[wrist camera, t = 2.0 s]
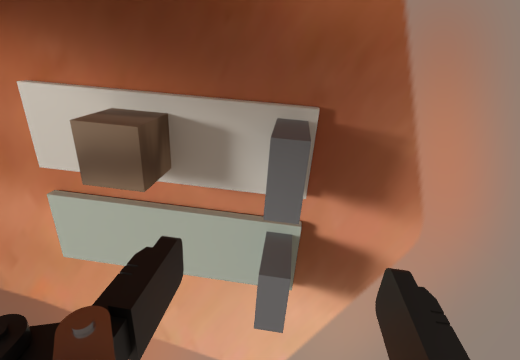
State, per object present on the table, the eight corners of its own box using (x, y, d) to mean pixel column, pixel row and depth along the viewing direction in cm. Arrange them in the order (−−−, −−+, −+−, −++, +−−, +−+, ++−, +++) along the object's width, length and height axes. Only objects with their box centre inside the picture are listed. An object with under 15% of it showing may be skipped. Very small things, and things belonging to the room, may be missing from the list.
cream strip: (26, 80, 26) (-64, 88, 19) (318, 107, 23) (326, 126, 17) (47, 163, 29) (-24, 194, 22) (305, 194, 27) (307, 237, 20)
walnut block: (112, 107, 24) (69, 119, 20) (168, 113, 24) (137, 127, 20) (119, 162, 27) (82, 184, 22) (171, 168, 26) (144, 191, 22)
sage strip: (54, 190, 30) (-12, 226, 24) (301, 221, 28) (302, 270, 21) (69, 251, 33) (15, 297, 27) (291, 283, 31) (290, 342, 25)
